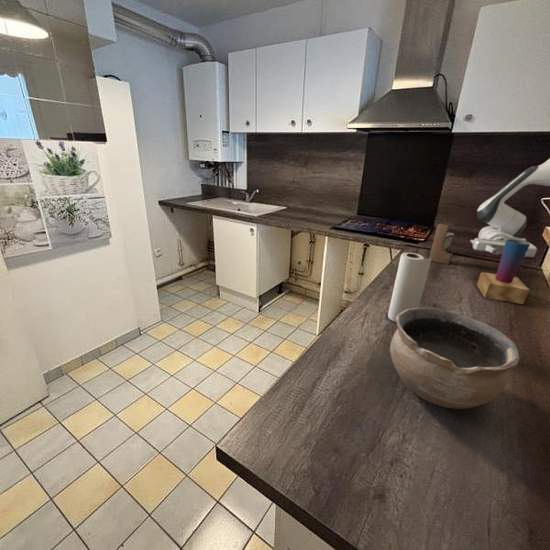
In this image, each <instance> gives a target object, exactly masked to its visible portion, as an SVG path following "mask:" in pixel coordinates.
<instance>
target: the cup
mask: <svg viewBox="0 0 550 550" xmlns="http://www.w3.org/2000/svg"><path fill="white" fill-rule="evenodd" d="M530 243H531V242H529V241H527V240H526V241H522V240H517V239H507V240H506V243H505V246H504V250H503V253H502V254H501V257H500V261H499V265H498V268H497V271H496V274H497V275H496V278H495V279H496V280H498V281H501V282H505V283H511V282H512V281H513V279H514V277H516V274H517V272H518V270H519V268H520V266H521V264H522V262H523V260H524V258H525V257H524V256H525V254H526V252H527V250H528V248H529V246H530Z"/></svg>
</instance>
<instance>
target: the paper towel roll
mask: <svg viewBox="0 0 550 550" xmlns="http://www.w3.org/2000/svg"><path fill="white" fill-rule="evenodd" d="M431 259H432V258H429V257H426V258H425V257H424V256H423V255H421V254H419V253H414V252H402V253H401V254H400V257H399V263H398V266H397V272H396V277H395V281H394V286H393V290H392V296H391V299H390V304H389V308H388V313H387V317H388V319H389V320H390V321H392V322H394V323H397V322H396V317H397V315H398V314H399V313H401V312H403V311H405V310H407V309H413V308H420V305H421V300H422V296H423V292H424V289H425V285H426V281H427V278H428V275H429V269H430V266H431V262H432V261H431Z"/></svg>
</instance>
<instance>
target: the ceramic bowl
mask: <svg viewBox="0 0 550 550" xmlns="http://www.w3.org/2000/svg"><path fill="white" fill-rule="evenodd" d="M395 323H396V327H397V329H396V330H395V332H394V334H393V335H392V338H391V341H390V347H389V348H390V349H389V353H390V356H391V361H392V364H393V366H394V368H395V370H396V372H397V373H398V375H399V377H400V379H401V380H402V382H403V383H404V385H405V386H406V387H407V388H408V389H409V390H410V391H411V392H412V393H414V394H415V395H417V396H418V397H419V398H421V399H423V400H425V401H426V402H428V403H431V404H433V405H436V406H438V407H442V408H446V409H452V410H453V409H454V410H466V409H467V410H468V409H471V408H475V407H476V408H477V407H479V406H483V405H485V404H487V403H489V402H491V401H494V399H496V398H498V397H499V396H500V395H501V394H502V393H503V391H504V389H505V388H506V386H507V383H508V381H509V375H510V370H511V369H513V368H514V367H516V366H517V365H518V364H519V360H520V353H519V350H518V347H517V346H516V344H515V343H514V341H513V340H512V339H510V337H508V336H507V335H505V334H504V333H503V332H502V331H499V330H498V329H497V328H495V327H492V326H490V325H489V324H487V323H484V322H482V321H479V320H477V319H474V318H472V317H469V316H467V315H462V314H459V313H455V312H451V311H450V310H449V311H448V310H446V309H445V310H444V309H441V308H428V307H427V308H426V307H419V308H413V309H407V310H405V311H403V312H401V313H399V314H398V315H397V317H396V322H395Z"/></svg>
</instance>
